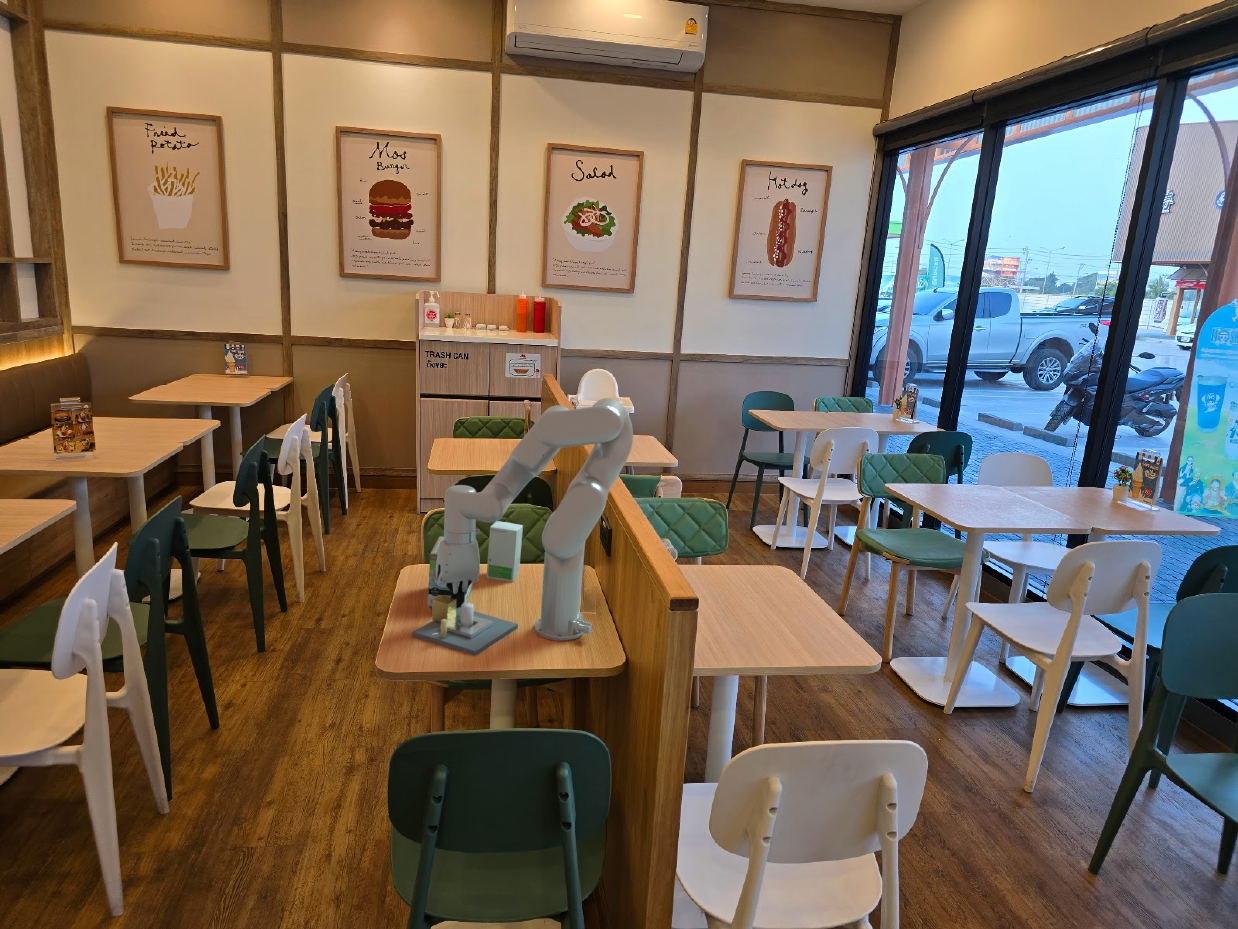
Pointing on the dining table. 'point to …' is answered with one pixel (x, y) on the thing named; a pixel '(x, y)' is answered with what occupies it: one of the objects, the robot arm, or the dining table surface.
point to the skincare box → (504, 551)
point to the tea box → (433, 588)
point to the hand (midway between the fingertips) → (457, 605)
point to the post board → (462, 642)
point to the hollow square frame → (456, 617)
